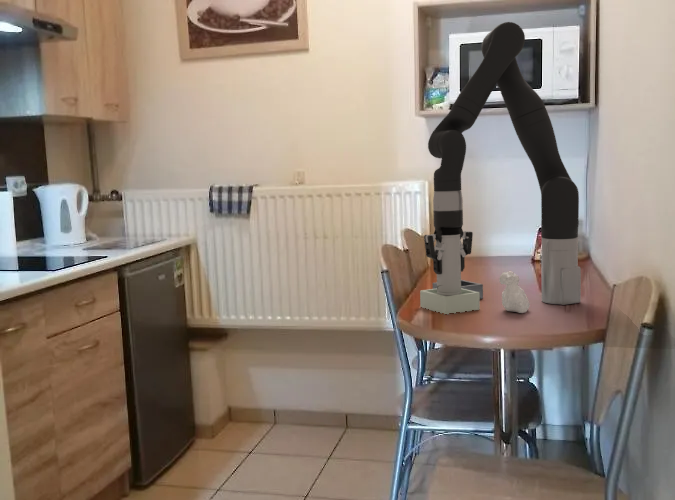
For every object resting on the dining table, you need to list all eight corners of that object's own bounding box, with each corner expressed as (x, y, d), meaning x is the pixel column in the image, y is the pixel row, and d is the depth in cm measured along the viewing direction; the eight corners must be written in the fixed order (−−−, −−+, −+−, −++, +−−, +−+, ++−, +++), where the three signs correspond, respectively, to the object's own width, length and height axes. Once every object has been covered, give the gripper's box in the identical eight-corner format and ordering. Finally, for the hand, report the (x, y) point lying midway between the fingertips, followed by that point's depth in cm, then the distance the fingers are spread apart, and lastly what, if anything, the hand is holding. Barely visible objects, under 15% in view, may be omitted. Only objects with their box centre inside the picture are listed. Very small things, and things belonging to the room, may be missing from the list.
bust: (514, 314, 186) (487, 280, 186) (538, 297, 183) (510, 263, 184) (513, 324, 174) (484, 288, 175) (539, 306, 172) (509, 270, 173)
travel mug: (433, 299, 183) (431, 222, 181) (441, 294, 189) (440, 220, 187) (456, 300, 181) (455, 222, 178) (464, 295, 186) (463, 220, 184)
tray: (479, 309, 182) (479, 292, 182) (445, 314, 178) (445, 297, 177) (453, 302, 193) (452, 286, 192) (420, 307, 188) (420, 290, 188)
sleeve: (482, 298, 197) (482, 284, 196) (454, 302, 193) (454, 287, 192) (460, 292, 206) (460, 279, 206) (432, 296, 202) (432, 282, 202)
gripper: (432, 210, 176) (434, 277, 178) (479, 207, 182) (480, 271, 184) (416, 209, 182) (418, 273, 184) (462, 206, 189) (463, 268, 191)
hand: (449, 272), depth 184 cm, fingers closed on travel mug, 6 cm apart
